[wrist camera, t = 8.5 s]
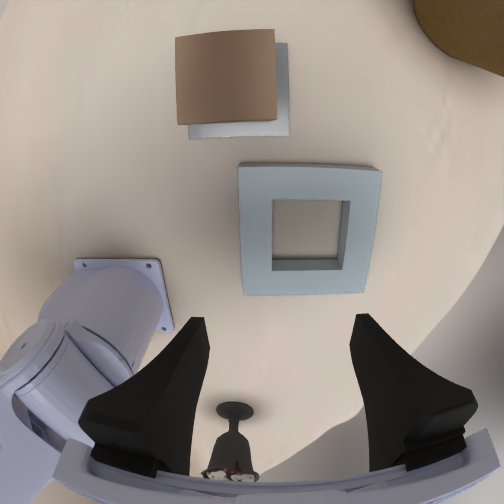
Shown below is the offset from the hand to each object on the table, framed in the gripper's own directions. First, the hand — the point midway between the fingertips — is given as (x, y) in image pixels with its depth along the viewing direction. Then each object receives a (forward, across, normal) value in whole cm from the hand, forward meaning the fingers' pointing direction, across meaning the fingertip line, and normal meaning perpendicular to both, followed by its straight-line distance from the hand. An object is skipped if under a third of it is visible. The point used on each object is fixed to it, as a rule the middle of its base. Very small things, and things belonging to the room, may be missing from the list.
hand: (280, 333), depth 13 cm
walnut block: (+10, +2, -12) cm, 15 cm away
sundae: (+10, +5, +24) cm, 27 cm away
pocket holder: (+10, -2, -1) cm, 11 cm away
